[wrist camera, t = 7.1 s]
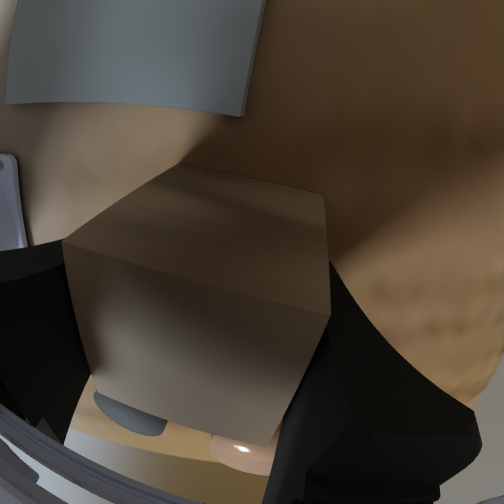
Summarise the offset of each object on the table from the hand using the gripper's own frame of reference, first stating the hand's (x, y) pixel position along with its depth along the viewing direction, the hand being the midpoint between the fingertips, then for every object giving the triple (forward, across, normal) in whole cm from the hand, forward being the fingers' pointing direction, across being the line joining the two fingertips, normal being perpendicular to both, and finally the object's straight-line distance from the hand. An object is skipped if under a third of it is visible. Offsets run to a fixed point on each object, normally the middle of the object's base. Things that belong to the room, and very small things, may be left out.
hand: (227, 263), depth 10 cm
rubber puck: (+2, +5, +13) cm, 14 cm away
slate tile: (+1, +6, -10) cm, 12 cm away
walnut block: (+1, 0, 0) cm, 1 cm away
